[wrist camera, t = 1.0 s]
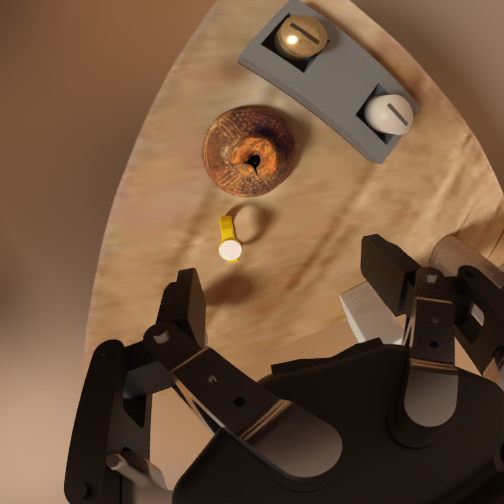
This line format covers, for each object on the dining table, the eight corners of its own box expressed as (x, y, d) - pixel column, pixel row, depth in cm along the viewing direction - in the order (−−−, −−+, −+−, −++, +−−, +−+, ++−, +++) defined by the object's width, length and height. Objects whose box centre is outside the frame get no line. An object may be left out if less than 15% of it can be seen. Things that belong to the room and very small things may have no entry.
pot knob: (401, 113, 29) (419, 115, 25) (383, 139, 30) (401, 143, 27) (376, 88, 27) (394, 86, 24) (357, 114, 29) (374, 115, 25)
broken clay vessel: (311, 151, 34) (331, 158, 28) (247, 212, 37) (253, 232, 31) (249, 88, 30) (256, 79, 23) (182, 154, 32) (173, 162, 26)
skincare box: (374, 309, 48) (410, 364, 35) (346, 324, 49) (378, 382, 35) (366, 278, 44) (410, 334, 31) (336, 293, 45) (372, 356, 32)
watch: (241, 246, 39) (245, 270, 34) (222, 250, 39) (224, 274, 34) (235, 208, 36) (238, 227, 31) (214, 211, 36) (214, 231, 31)
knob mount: (403, 106, 31) (419, 107, 28) (367, 159, 35) (381, 164, 31) (285, 8, 24) (293, -4, 20) (237, 62, 28) (240, 55, 24)
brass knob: (322, 42, 24) (336, 33, 21) (301, 68, 26) (312, 62, 22) (288, 18, 23) (298, 6, 19) (265, 45, 24) (272, 34, 20)
